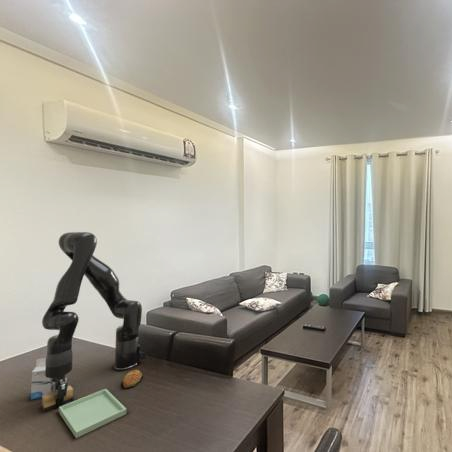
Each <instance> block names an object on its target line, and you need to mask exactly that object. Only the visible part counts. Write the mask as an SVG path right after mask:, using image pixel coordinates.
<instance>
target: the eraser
mask: <svg viewBox="0 0 452 452" xmlns="http://www.w3.org/2000/svg"><path fill="white" fill-rule="evenodd" d="M61 394H62V393H61ZM73 401H74V388H73V387H72V386H71V385H68V387H67V393H66V396H64V405H65V404H68V403H70V402H73ZM55 405H56V398H55V393H54V392H50V393H47V394H44V395H42V398H41V409H42V411H43V412H44V413H46V412H49V411H51V410H54V409H55V408H56V407H55ZM56 409H57V408H56Z"/></svg>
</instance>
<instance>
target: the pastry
mask: <svg viewBox="0 0 452 452" xmlns="http://www.w3.org/2000/svg"><path fill="white" fill-rule="evenodd" d="M142 376H143V373H142V372H141V371H140V370H138V369H133V370H131V371H128V372H127V373H126V375H125V376H124V377H123V379H122V385H123V388H124V389H126V388H131V387H135V386H136V385H137V384H138V383H139V381H140V380H141V378H142Z"/></svg>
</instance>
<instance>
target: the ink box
mask: <svg viewBox="0 0 452 452" xmlns="http://www.w3.org/2000/svg"><path fill="white" fill-rule="evenodd" d="M45 368H46V357H42V358H37V359H36V366H35V367H34V369H33V370H32V371H31V384H30V385H31V386H30V400H31V401H32V400H33V401H34V400H38V399H42V395H44V394H47V393H50V392H52V390H50V389H51V383H50V378H47V377H46V376H45Z"/></svg>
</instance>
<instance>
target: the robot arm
mask: <svg viewBox="0 0 452 452" xmlns="http://www.w3.org/2000/svg"><path fill="white" fill-rule="evenodd" d="M97 244H98V239H97V237H96V235H95V234H94V233H92V232H89V231H88V232H87V231H70V232H65V233H63V234H62V235H61V236H60V237H59V239H58V247H59V248H60V250H61V251H62V253H64V254H65V255H66V256H67V257H68V258H69V259H70V260H71V263H70V265H69V267H68V268H67V269H66V271H65V272H64V273H63V275H62V276H61V278H60V279H59V281H58V283H57V285H56V288H55V292H54V296H53V300H52V302H51V303H50V304H49V306H48V308H47V310H46V312H45V313H44V315H43V317H42V320H41V324H42V327H43V328H44V330H47V331H49V330H50V331H58V334H54V335H52V336H51V337H49V338H48V339H47V341H46V343H47V344H46V346H47V347H46V356H45V358H46V361H45V362H46V368H45V376H46V377H47V378H50V383H51V389H50V390H52V392H54V393H55V398H56V405H55V407H56V409H57V408H58V409H59V407H60V406H63V405H65V404H64V396H66V393H67V387H68V386H69V383H68V377H67V376H66V375H68V374H69V373H70V372H72V370H73V355H74V353H73V337H74V335H75V333H76V329H77V326H78V324H79V321H80V320H79V316H78V314H77V312H76V311H75V312H74V311H65V309H67V307H68V306H73V305H75V304H76V303H77V302H78V299H79V295H80V290H81V285H82V283H83V280H84V276H85V277H86V279H87V280H88V281H89V283H90V284H91V285H92V287H93V288H94V289H95V290H96V291H97V293H98V294H99V296H100V297H101V298H102V299H103V300H104V302H105V303H106V306H107V307H108V308H109V310H110V312H111V314H112V316H113V317H115V318H117V319H121V320H122V321H123V322H122V325H119V326H117V328H116V329H115V347H114V348H115V350H114V352H115V353H114V370H116V371H126V370H129V369H132V368H135V367H137V365H139V364H140V360H141V359H142V357H145V356H146V355H145V352H142V351H141V344H139V336H140V335H139V334H140V333H139V331H140V326H141V324H142V323H141V322H142V314H143V307H142V303H141V302H140V301H138V300H132V299H127V298H126V297H125V296H124V295H123V294H122V292H121V291H120V279H119V277H118V275H117V274H116V273H115V271H114V269H113V268H112V267H110V266H109V265H108V264H107V263H105V262H103V261H102V260H100V259H99V258H97V257H96V256H94V253H95V250H96V248H97ZM61 393H62V394H61Z"/></svg>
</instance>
